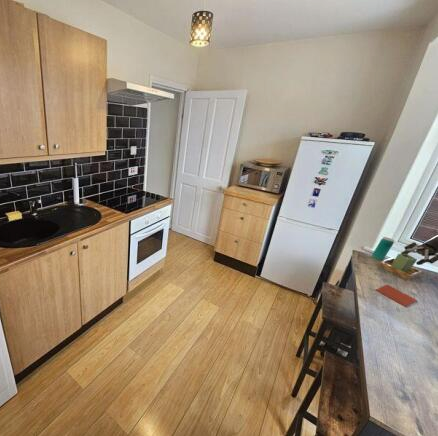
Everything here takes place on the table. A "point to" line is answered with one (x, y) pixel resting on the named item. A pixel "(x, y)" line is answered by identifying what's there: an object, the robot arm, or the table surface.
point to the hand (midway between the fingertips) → (409, 259)
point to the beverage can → (382, 248)
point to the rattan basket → (411, 274)
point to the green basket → (403, 262)
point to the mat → (396, 295)
